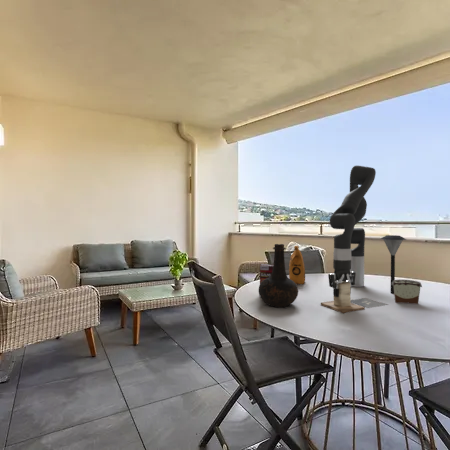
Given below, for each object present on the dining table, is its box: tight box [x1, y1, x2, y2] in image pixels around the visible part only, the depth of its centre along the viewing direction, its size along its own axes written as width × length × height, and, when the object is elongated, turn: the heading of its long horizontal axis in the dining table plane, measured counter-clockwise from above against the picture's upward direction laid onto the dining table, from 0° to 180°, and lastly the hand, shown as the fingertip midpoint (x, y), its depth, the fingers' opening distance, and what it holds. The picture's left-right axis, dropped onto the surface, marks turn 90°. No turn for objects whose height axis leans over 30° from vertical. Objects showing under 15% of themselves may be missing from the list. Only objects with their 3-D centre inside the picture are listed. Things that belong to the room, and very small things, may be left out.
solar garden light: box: [380, 234, 407, 294], centre depth 168 cm, size 12×12×30 cm
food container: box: [392, 279, 423, 305], centre depth 151 cm, size 12×6×10 cm, turn 71°
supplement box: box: [259, 263, 273, 284], centre depth 164 cm, size 9×5×16 cm, turn 77°
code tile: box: [351, 297, 389, 309], centre depth 150 cm, size 13×13×1 cm
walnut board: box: [320, 300, 366, 314], centre depth 144 cm, size 14×12×1 cm
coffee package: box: [288, 245, 306, 285], centre depth 197 cm, size 10×12×22 cm
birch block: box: [333, 281, 352, 307], centre depth 143 cm, size 5×5×10 cm
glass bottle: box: [258, 243, 299, 308], centre depth 149 cm, size 18×18×28 cm
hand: (342, 295), depth 144 cm, fingers open, 6 cm apart
